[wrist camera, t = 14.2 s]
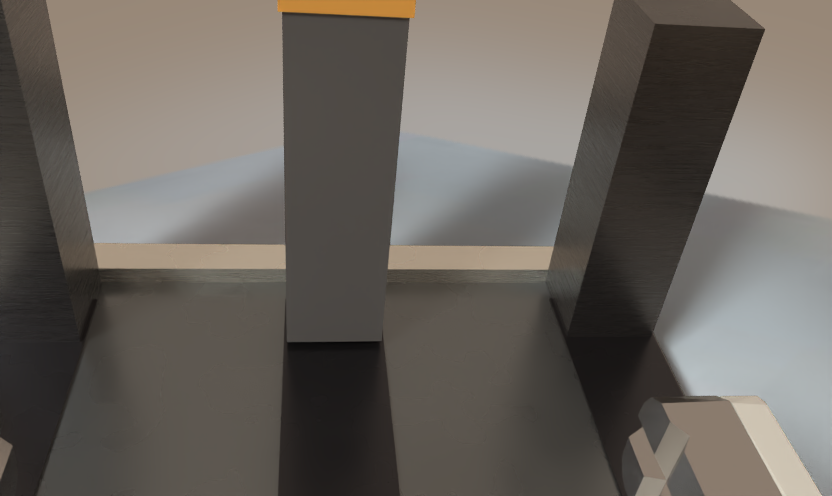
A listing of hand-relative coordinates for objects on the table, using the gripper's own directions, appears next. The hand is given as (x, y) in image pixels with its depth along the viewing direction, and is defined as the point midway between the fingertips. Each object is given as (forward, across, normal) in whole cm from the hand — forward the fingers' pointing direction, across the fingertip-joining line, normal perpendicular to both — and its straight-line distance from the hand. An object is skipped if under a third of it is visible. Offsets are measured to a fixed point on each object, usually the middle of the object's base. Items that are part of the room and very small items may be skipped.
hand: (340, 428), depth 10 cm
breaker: (+13, -1, +10) cm, 16 cm away
